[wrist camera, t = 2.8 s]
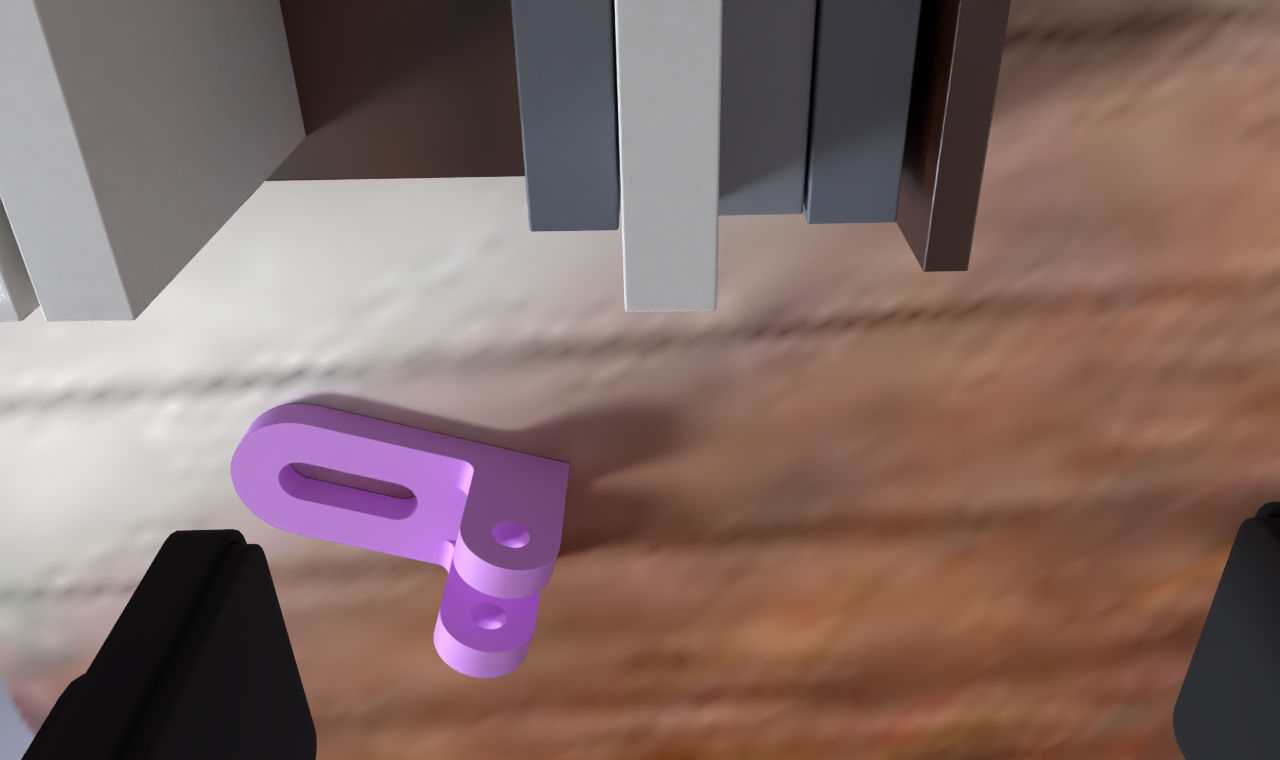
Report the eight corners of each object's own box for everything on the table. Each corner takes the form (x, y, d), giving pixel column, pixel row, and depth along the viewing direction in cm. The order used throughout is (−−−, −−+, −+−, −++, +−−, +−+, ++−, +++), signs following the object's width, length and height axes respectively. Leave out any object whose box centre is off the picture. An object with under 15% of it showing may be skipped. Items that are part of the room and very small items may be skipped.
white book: (695, -146, 29) (724, -93, 18) (693, 129, 33) (716, 311, 22) (625, -144, 29) (611, -89, 18) (632, 130, 33) (624, 313, 22)
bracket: (569, 463, 42) (556, 579, 36) (539, 563, 44) (522, 686, 38) (248, 389, 40) (178, 498, 34) (238, 498, 43) (171, 616, 37)
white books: (253, -135, 29) (10, -76, 18) (306, 137, 33) (135, 321, 22) (99, -131, 29) (-237, -70, 18) (171, 139, 33) (-67, 324, 22)
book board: (937, -213, 29) (1044, -206, 21) (895, 158, 35) (968, 271, 27) (43, -191, 30) (-176, -176, 22) (146, 172, 35) (1, 287, 27)
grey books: (879, -170, 29) (942, -153, 23) (851, 141, 33) (898, 226, 27) (530, -161, 29) (498, -142, 23) (551, 147, 33) (529, 232, 27)
